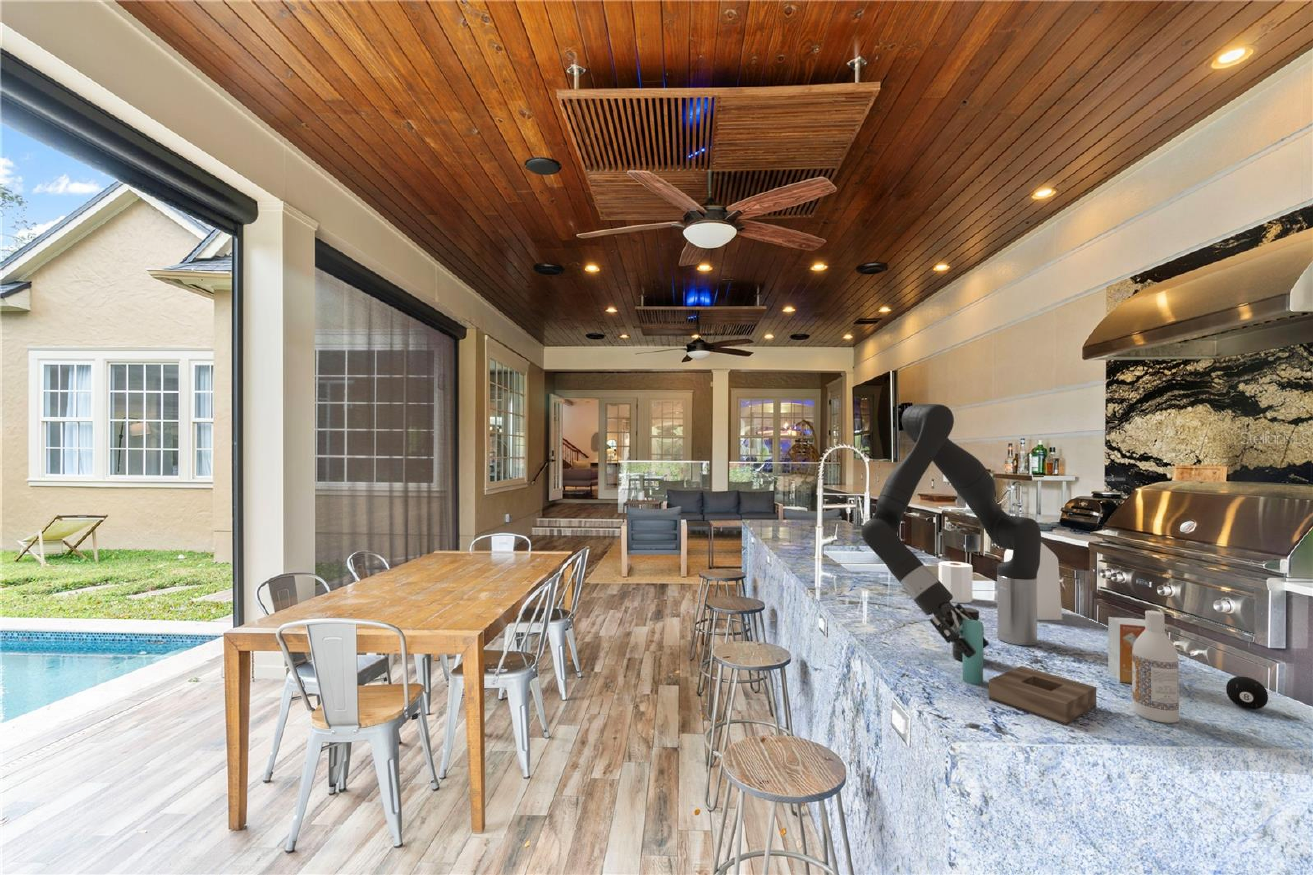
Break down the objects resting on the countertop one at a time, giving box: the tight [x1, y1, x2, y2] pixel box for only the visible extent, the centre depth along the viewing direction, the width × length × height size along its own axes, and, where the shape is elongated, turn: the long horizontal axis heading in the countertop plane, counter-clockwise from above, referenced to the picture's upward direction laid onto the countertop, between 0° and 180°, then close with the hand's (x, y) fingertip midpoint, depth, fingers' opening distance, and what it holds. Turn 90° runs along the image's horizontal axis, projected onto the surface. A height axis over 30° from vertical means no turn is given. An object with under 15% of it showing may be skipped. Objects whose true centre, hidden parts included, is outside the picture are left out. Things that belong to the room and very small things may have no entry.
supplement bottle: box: [951, 607, 985, 662], centre depth 147 cm, size 7×7×12 cm
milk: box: [1003, 541, 1063, 621], centre depth 187 cm, size 12×12×26 cm
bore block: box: [988, 665, 1097, 726], centre depth 122 cm, size 14×14×4 cm
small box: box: [1107, 616, 1145, 684], centre depth 134 cm, size 8×6×13 cm
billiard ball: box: [1225, 676, 1269, 710], centre depth 120 cm, size 6×6×6 cm
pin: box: [962, 619, 984, 685], centre depth 133 cm, size 4×4×13 cm
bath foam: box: [1131, 610, 1180, 724], centre depth 116 cm, size 7×7×20 cm
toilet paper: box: [938, 560, 974, 604], centre depth 205 cm, size 10×10×12 cm
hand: (979, 651), depth 132 cm, fingers open, 8 cm apart
